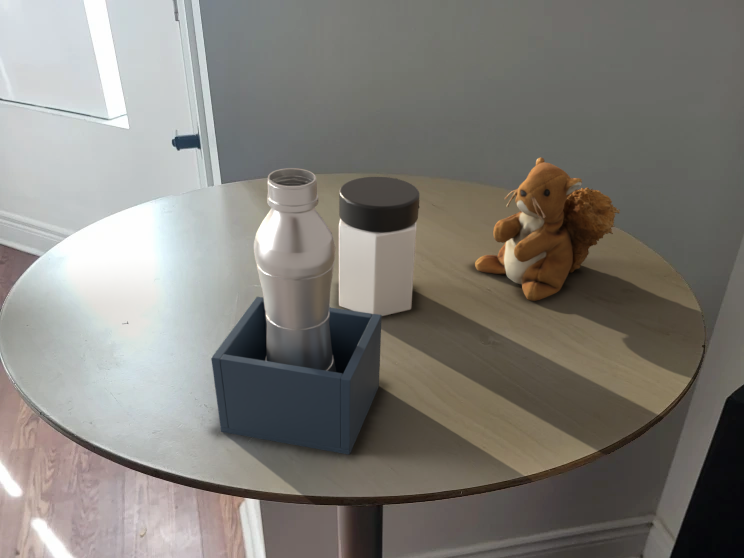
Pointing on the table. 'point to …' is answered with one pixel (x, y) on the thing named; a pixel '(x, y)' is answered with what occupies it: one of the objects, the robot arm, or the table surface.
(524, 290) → the stuffed squirrel
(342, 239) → the jar
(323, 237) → the silver metal bottle
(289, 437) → the bin
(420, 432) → the table surface
